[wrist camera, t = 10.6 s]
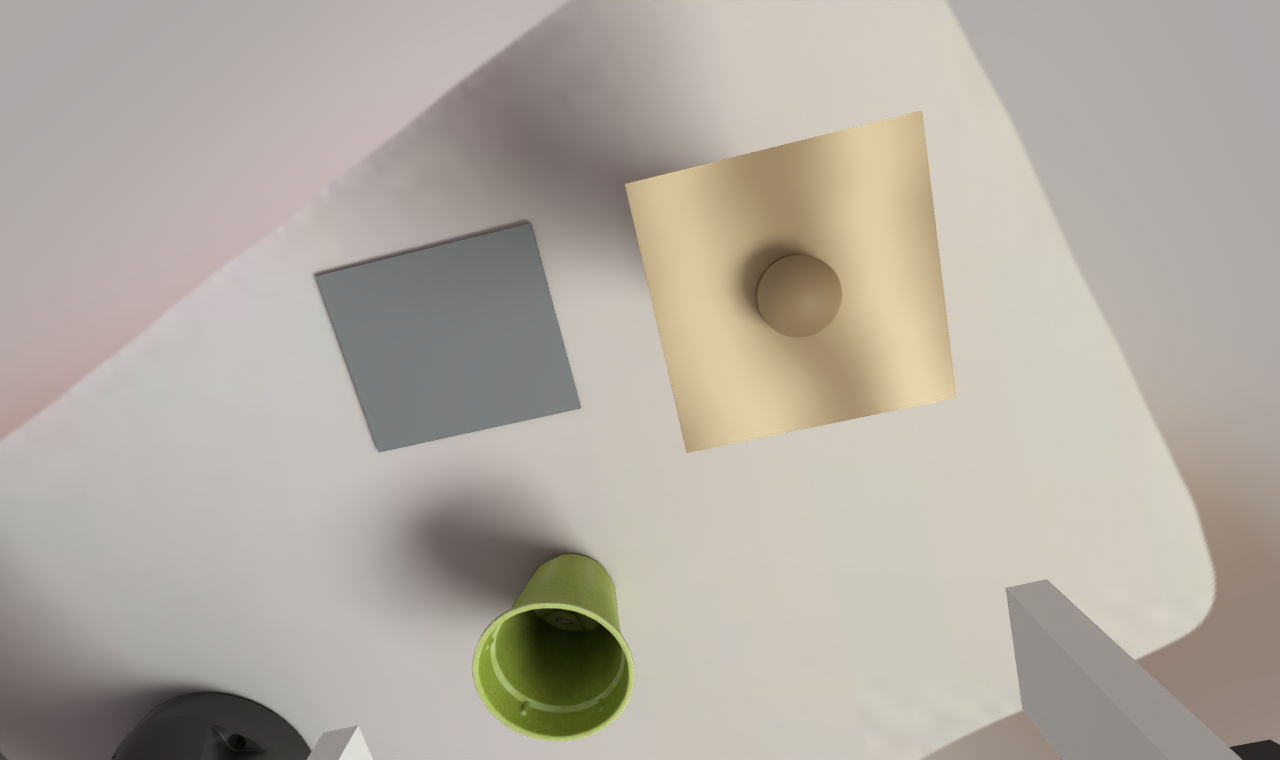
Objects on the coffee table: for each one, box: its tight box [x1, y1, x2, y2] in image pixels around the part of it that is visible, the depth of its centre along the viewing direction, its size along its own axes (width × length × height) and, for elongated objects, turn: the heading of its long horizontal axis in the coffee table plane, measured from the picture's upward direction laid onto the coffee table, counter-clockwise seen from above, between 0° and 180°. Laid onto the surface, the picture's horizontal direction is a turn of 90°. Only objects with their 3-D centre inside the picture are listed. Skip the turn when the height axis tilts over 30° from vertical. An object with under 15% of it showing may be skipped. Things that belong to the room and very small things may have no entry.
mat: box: [316, 223, 581, 452], centre depth 42 cm, size 14×12×1 cm
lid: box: [625, 111, 956, 453], centre depth 25 cm, size 10×10×5 cm
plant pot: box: [472, 554, 634, 741], centre depth 42 cm, size 9×9×9 cm
